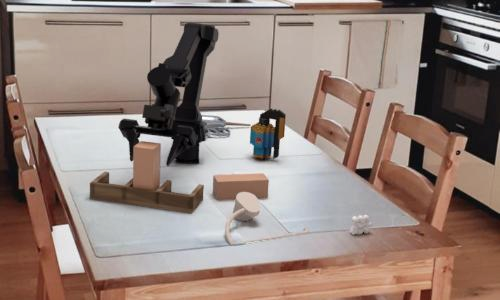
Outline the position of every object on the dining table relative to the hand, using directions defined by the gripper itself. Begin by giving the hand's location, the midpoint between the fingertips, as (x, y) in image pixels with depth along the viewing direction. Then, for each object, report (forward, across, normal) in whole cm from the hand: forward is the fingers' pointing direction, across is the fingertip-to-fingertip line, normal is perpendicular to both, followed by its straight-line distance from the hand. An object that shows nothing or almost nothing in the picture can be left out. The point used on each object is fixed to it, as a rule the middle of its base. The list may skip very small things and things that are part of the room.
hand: (149, 163), depth 198 cm
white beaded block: (+9, +52, +4) cm, 53 cm away
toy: (-23, +21, +37) cm, 48 cm away
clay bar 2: (0, +21, +14) cm, 25 cm away
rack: (+7, 0, +6) cm, 9 cm away
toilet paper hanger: (+12, +28, +1) cm, 31 cm away
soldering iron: (-35, -1, +50) cm, 61 cm away
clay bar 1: (+7, 0, +4) cm, 8 cm away
